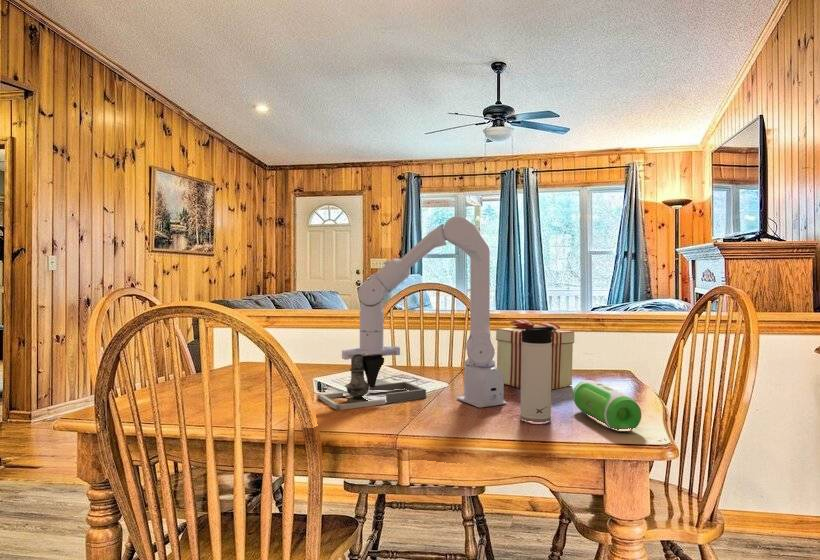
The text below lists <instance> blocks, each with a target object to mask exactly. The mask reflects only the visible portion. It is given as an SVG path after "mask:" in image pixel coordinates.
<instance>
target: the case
mask: <svg viewBox="0 0 820 560" xmlns="http://www.w3.org/2000/svg"><path fill="white" fill-rule="evenodd" d="M404 388H405V389H407V390H409V391H405V390H403V391H394V392H386V394H385V402H386V401H387V402H386V403H388V404H389V403H397V402H404V401H412V400H418V399H419V400H420V399H426V398H427V389H426V388H423V387H420V386H419V385H415V384H413V383H410V382H407V381H399V382H397V381H396V382H390V383H382V384H380V383H379V384H375V387H373V388H371V387H369V390H394V389H404ZM369 390H368V391H369Z"/></svg>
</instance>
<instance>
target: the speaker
mask: <svg viewBox="0 0 820 560" xmlns="http://www.w3.org/2000/svg"><path fill="white" fill-rule="evenodd" d="M572 399H573V403H574V404H575V406H576V407H577V408H578V409H579V411H581V412H582V413H583V412H584V414H585V413H586V414H588V415H590V416H592V417H594V418H596V419H597V420H599V421H601V422H603V423H605V424H606V425H607V426H608V427H610V428H614V429H617V430H619V429H628V428H629V429H630V428H631V429H633V428H635V429H637V427H638V426H639V425H640V423H641V421H642V410H641V408H640V405H639V404H638V403H637V401H635V400H634V399H633V398H632V397H631V396H629V395H627V394H625V393H623V392H621V391H618V390H617V389H614V388H612V387H610V386H608V385H605V384H603V383H601V382H599V381H596V380H593V379H592V380H590V379H587V380H584V381H579V383H577V384H576V386H575V387H574V388H573V392H572ZM586 414H585V415H586Z"/></svg>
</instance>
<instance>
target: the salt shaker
mask: <svg viewBox="0 0 820 560" xmlns="http://www.w3.org/2000/svg"><path fill="white" fill-rule="evenodd" d="M350 362H351V363H350V365H351V367H350V368H349V371H350V377H351V378H350V382H349V383H347V384H345V386H344V387H345V388H346V391H347V392H348V393H349V394H350V395H351V396H349V398H347V399H346V402H347V403H356V402H364V401H368V400H366V399H364V398H363V397H362V396H366V395H367V393H368V394H369V386H370V384H369V383H368V382H366V380H365V371H364V370H365V369H364V368H363V356H362V355H360V354H356V355H354V356H353V357H352V359H350Z"/></svg>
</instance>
